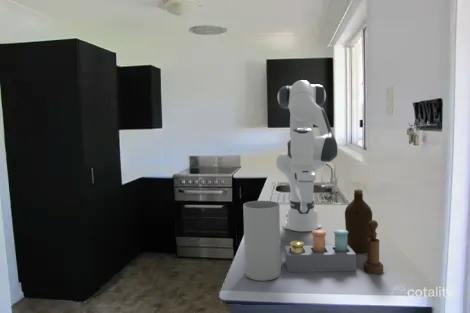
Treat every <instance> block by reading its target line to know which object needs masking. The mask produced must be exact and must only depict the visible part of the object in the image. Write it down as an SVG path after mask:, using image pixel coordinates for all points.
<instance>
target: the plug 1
mask: <svg viewBox="0 0 470 313" xmlns="http://www.w3.org/2000/svg"><path fill="white" fill-rule="evenodd" d="M289 246H291V253H303V246H305V241H304V242H303V241H302V240H293V241H292V240H291V241H290V242H289Z"/></svg>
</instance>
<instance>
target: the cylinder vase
mask: <svg viewBox="0 0 470 313" xmlns="http://www.w3.org/2000/svg"><path fill="white" fill-rule="evenodd" d="M242 210H243V213H242V214H243V238H244V240H243V241H244V244H243V245H244V272H245V275H246V277H247V278H249V279H251V280H254V281H259V282H267V281H272V280H276V279H277V278H279V277H280V275H281V274H282V268H281V264H282V262H281V261H282V260H281V223H280V222H281V219H280V215H281V214H280V213H281V212H280V203H279V202H276V201H272V200H253V201H247V202H245V203H243V206H242Z"/></svg>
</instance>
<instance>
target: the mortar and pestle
mask: <svg viewBox="0 0 470 313" xmlns="http://www.w3.org/2000/svg"><path fill="white" fill-rule="evenodd" d="M378 226H379V223H378V222H377V220H376V219H374V220H373V219H372V220H371V221H370V222H369V227H370V229H371V233H370V236H371V238H369V239H367V244H368V253H367V254H366V255H367V258H366V259H367V260H365V261H364V262H363V268H362V270H363V271H364V272H366V273H369V274H372V275H373V274H374V275H380V274H383V273H384V264H383V263H382V262H381V261H380V239H378V238H377V235H378V233H377V231H376V229H378Z"/></svg>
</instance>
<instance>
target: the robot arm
mask: <svg viewBox="0 0 470 313" xmlns="http://www.w3.org/2000/svg"><path fill="white" fill-rule="evenodd" d="M278 90H279V91H278V93H277V97H276V98H277V101H278V102H277V103H278V104H279V106H280V108H282V109H285V110H286V109H287V110H289V113H290V115H289V116H290V117H289V137H290V139H289V141H287V143H286V144H287V151H285V152H282V153H279V155H278V156H277V158H276V164H275V165H276V168H277V170H278V171H279V172H280V173H282V175H284V177H286V179H287V181H288V184H289V190H290V200H289V207H290V208H289V210H288V211H287V212H286V213H285V218H286V219H285V222H284V225H283V229H284V230H285V229H286V230H290V231H295V232H312V231H313V230H319V229H321V228H322V225H321V224H319V220H318V219H319V218H318V216H319V215H318V211H317V210H316V209H315V200H314V187H315V181H316V180H317V179H316V176H317V175H316V172H319V171H322V170H324V169H325V167H326V166H327V163H331V162H332V161H333V160H334V159H335V158H337V156H338V152H339V151H338V150H339V147H338V146H339V144H338V143H337V140H336V138H335V136H334V135H335V134H333V130H332V127H331V124H330V122H329V119H328V116H327V113H326V111H325V109H324V107H322V106H323V105H324V104H325V102H326V98H327V93H326V90H325V87H324V86H323V85H321V84H311V83H310V82H309V81H308V80H303V79H301V80H297V81H295V82H294V83H293V84H292V85H285V86H281V88H279V89H278ZM314 126H316V127H317V128H318V130H319V133H320V135H315V134H314Z"/></svg>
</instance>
